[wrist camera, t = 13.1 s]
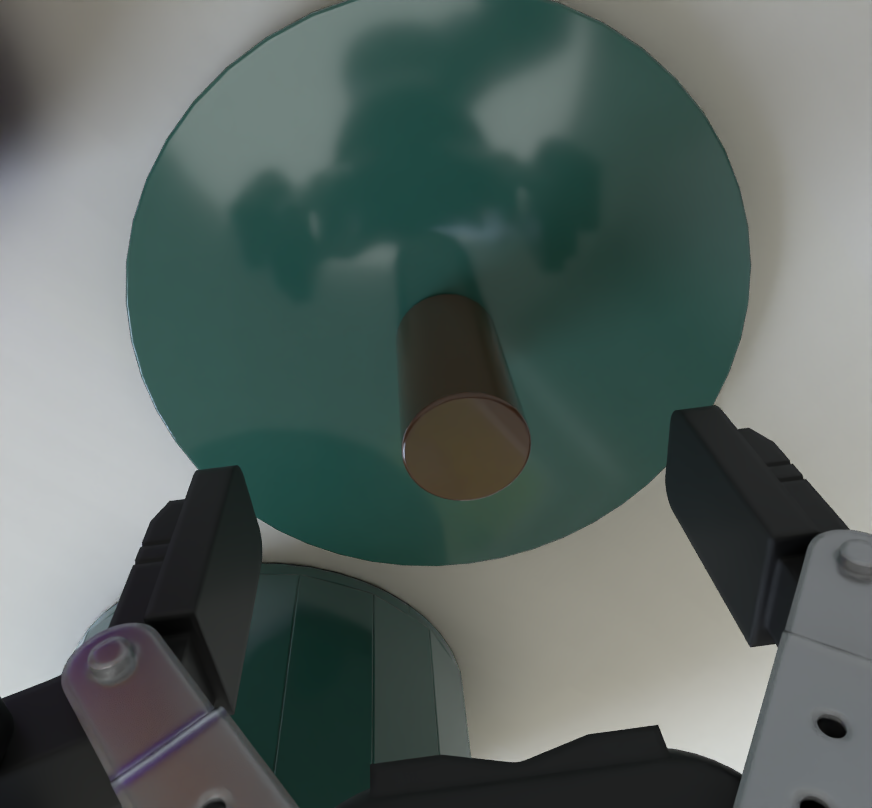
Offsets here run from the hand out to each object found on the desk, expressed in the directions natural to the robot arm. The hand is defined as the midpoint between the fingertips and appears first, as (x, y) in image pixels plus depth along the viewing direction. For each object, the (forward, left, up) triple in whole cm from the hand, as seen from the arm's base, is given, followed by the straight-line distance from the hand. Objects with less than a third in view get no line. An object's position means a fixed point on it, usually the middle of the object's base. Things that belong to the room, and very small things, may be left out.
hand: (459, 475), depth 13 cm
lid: (0, 0, -6) cm, 6 cm away
